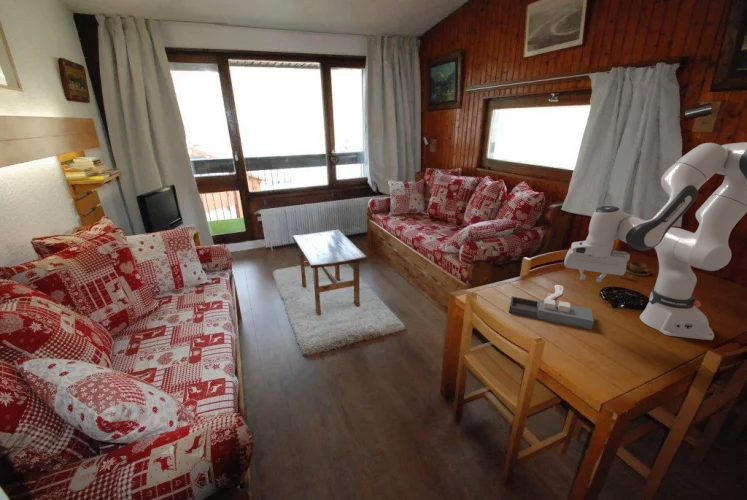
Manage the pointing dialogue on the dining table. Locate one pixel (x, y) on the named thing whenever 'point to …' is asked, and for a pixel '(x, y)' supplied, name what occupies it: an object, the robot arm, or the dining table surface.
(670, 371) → the dining table surface
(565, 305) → the tile
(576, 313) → the long flat grey base
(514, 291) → the dining table surface
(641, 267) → the place setting
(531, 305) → the tray
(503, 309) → the dining table surface
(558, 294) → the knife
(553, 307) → the tile
